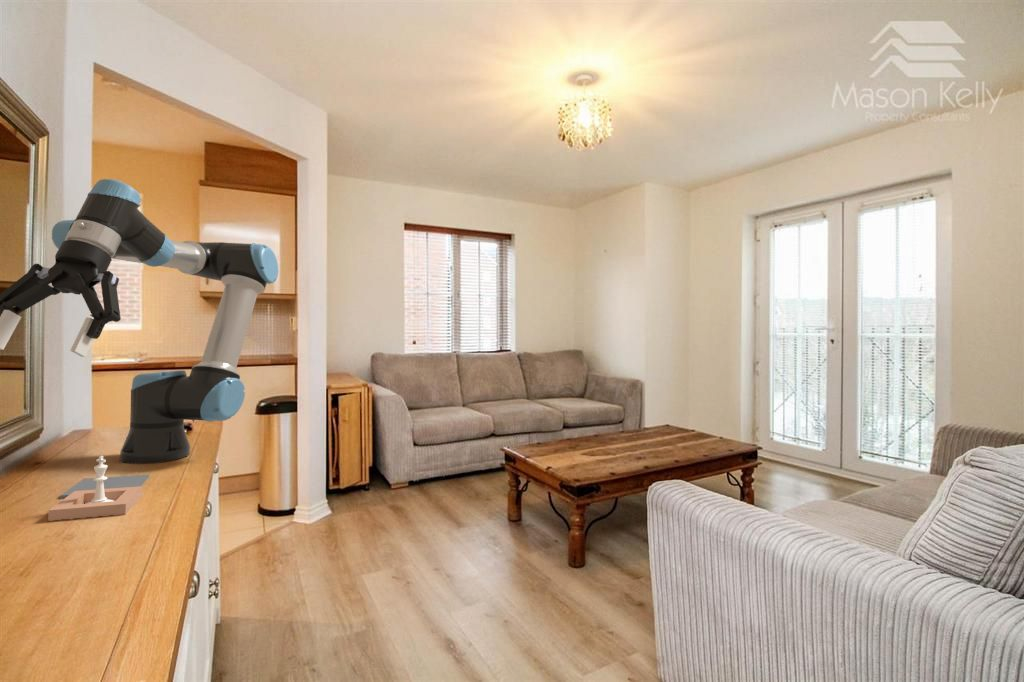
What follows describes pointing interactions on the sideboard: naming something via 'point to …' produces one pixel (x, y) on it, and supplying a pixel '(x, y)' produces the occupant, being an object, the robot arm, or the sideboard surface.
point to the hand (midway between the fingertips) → (36, 350)
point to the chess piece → (100, 482)
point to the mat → (108, 483)
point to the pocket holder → (77, 508)
